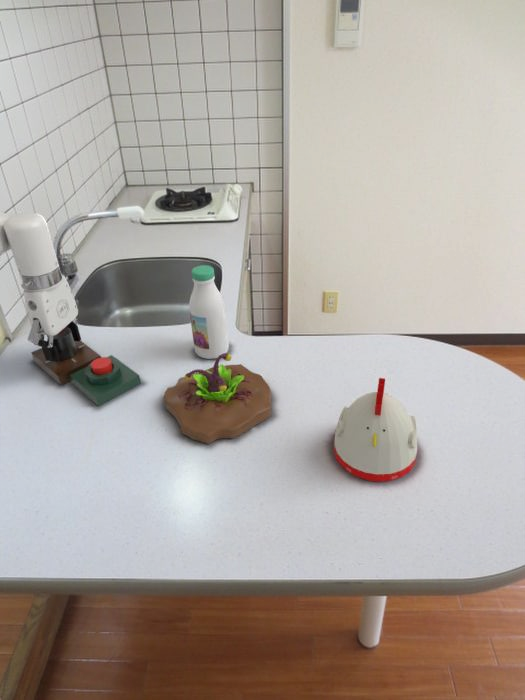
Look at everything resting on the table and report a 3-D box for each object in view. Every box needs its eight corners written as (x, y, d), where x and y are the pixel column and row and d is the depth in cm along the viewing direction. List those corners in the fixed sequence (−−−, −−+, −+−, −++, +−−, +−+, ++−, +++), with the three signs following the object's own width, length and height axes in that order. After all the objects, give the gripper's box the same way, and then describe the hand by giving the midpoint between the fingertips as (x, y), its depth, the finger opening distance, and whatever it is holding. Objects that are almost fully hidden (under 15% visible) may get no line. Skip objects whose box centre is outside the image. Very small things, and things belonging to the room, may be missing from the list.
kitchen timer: (327, 473, 87) (330, 403, 78) (340, 418, 98) (343, 352, 89) (414, 488, 83) (427, 416, 75) (417, 430, 94) (428, 361, 86)
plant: (290, 415, 99) (289, 367, 93) (195, 455, 91) (187, 406, 85) (242, 363, 114) (238, 319, 107) (156, 393, 106) (147, 348, 100)
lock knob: (69, 361, 113) (62, 339, 109) (48, 358, 114) (41, 336, 111) (81, 348, 117) (75, 326, 113) (61, 346, 118) (55, 324, 115)
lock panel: (34, 361, 118) (30, 351, 116) (74, 343, 123) (72, 333, 122) (60, 385, 110) (57, 375, 108) (103, 365, 115) (100, 355, 114)
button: (89, 370, 108) (87, 363, 107) (106, 361, 110) (104, 354, 109) (99, 378, 105) (97, 371, 104) (116, 369, 108) (114, 362, 107)
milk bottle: (224, 338, 122) (216, 258, 111) (233, 355, 116) (225, 273, 105) (192, 344, 121) (180, 265, 109) (199, 363, 114) (187, 280, 103)
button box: (72, 383, 110) (67, 368, 108) (113, 362, 116) (109, 347, 114) (98, 406, 104) (93, 390, 101) (141, 383, 109) (137, 368, 107)
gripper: (30, 299, 97) (55, 375, 107) (81, 260, 111) (100, 331, 121) (-4, 295, 99) (24, 371, 109) (51, 257, 113) (71, 327, 122)
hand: (64, 349), depth 115 cm, fingers open, 7 cm apart
